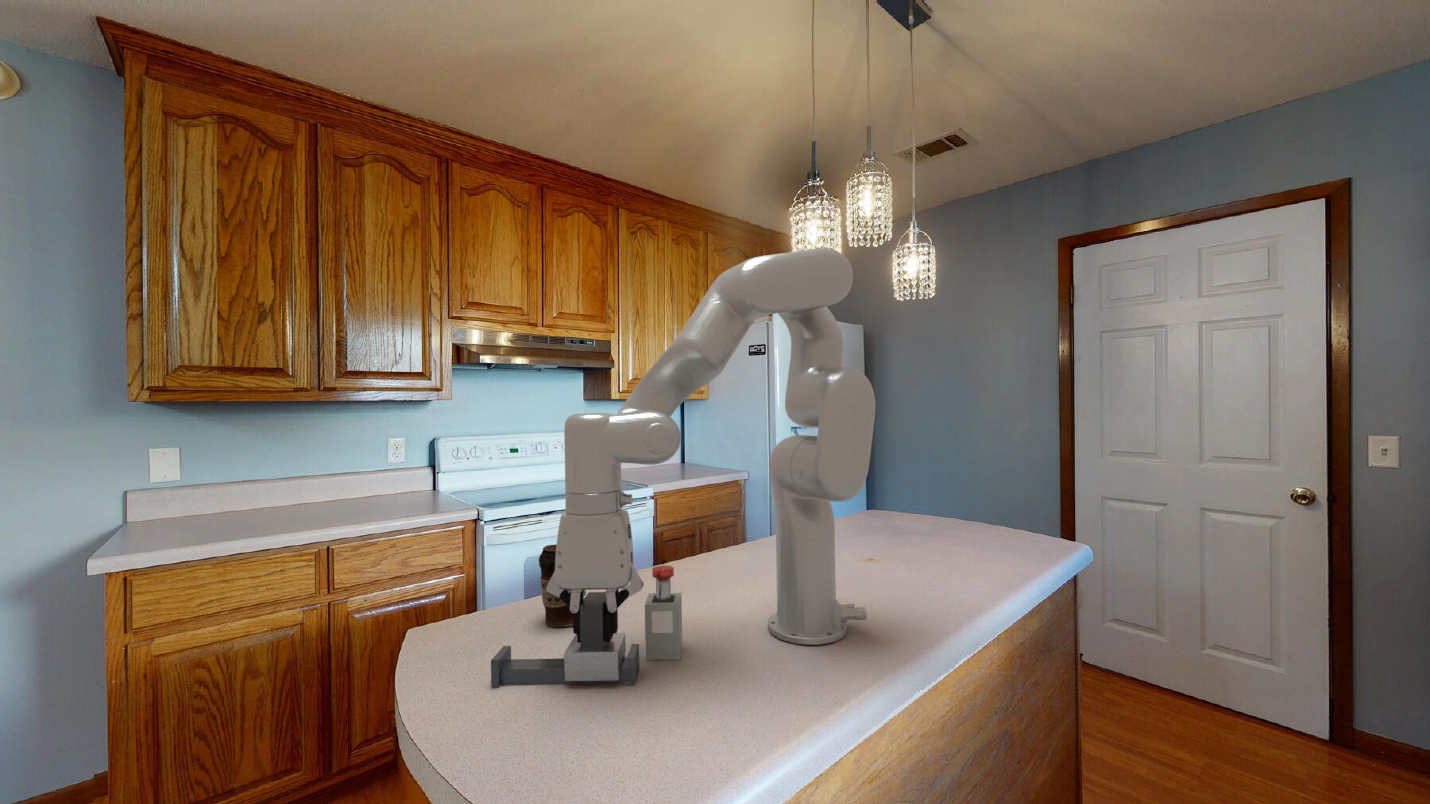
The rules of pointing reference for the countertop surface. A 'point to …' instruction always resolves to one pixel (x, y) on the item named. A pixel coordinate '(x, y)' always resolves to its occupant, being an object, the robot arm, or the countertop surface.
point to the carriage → (594, 645)
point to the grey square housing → (663, 628)
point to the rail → (551, 670)
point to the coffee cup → (554, 606)
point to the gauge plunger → (663, 582)
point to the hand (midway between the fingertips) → (595, 637)
